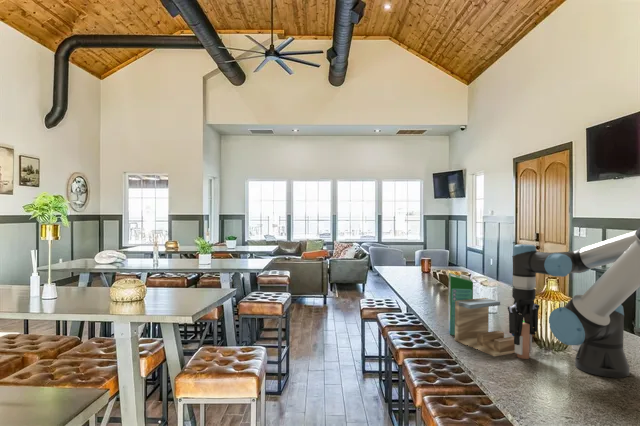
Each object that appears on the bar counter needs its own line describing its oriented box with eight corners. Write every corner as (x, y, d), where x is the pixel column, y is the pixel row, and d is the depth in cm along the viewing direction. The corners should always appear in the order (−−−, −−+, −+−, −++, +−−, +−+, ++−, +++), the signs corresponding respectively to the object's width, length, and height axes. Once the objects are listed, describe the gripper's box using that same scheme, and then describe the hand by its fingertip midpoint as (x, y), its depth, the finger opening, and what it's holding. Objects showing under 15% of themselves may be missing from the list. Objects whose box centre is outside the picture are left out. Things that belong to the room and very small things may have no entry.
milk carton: (472, 336, 179) (473, 276, 179) (450, 334, 181) (450, 275, 181) (469, 330, 188) (470, 273, 188) (448, 329, 190) (448, 272, 190)
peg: (531, 358, 153) (532, 324, 153) (523, 359, 151) (524, 325, 151) (522, 354, 157) (522, 321, 157) (514, 356, 155) (514, 322, 155)
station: (526, 350, 161) (526, 308, 161) (494, 356, 154) (495, 312, 154) (484, 335, 180) (485, 297, 180) (454, 340, 173) (455, 300, 173)
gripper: (531, 284, 161) (531, 346, 161) (498, 287, 154) (497, 352, 154) (549, 287, 154) (548, 352, 154) (515, 291, 147) (514, 359, 147)
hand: (523, 352), depth 154 cm, fingers closed on peg, 4 cm apart
